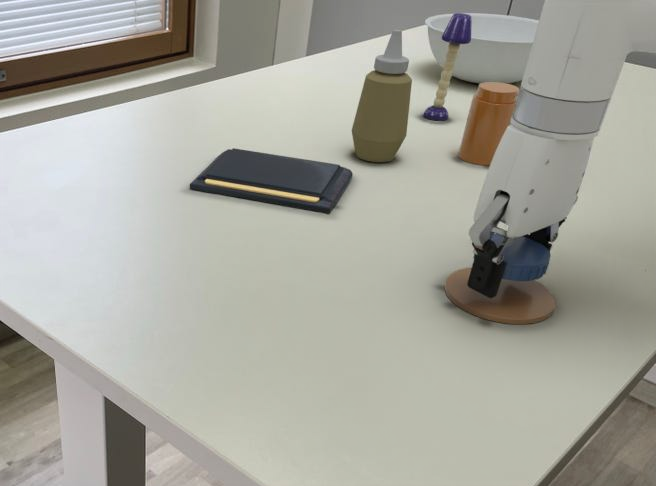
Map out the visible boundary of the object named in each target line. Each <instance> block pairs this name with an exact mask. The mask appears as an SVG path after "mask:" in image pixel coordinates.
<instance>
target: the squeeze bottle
mask: <svg viewBox="0 0 656 486" xmlns="http://www.w3.org/2000/svg"><path fill="white" fill-rule="evenodd" d="M409 63H410V59H409V58H408V57H406V56H404V55H403V31H402V30H401V29H393V30H392V33H391V34H390V38H389V40H388V42H387V45H386V48H385V51H384V53H383V54H379V55H377V56H376V57H375V58H374V66H373V70H371V71H370V72H368V73H367V74H366V75H365V78H364V82H363V86H362V88H361V89H362V90H361V93H360V97H359V101H358V105H357V108H356V112H355V115H354V119H353V123H352V127H351V135H352V143H353V148H354V154H355V156H356V157H357V158H359V159H361V160H364V161H366V162H372V163H386V162H390V161H393V160H394V159H395V157H396V155H397V153H398V152H399V150H400V148H401V146H402V145H403V143H404V141H405V140H406V137H407V133H408V123H409V114H410V113H409V112H410V105H411V104H410V103H411V95H412V85H413V78H412V77H411V76H410V75H409V74H408V73H406V72H408V69H409Z"/></svg>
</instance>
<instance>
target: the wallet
mask: <svg viewBox="0 0 656 486" xmlns="http://www.w3.org/2000/svg"><path fill="white" fill-rule="evenodd" d="M352 178H353V171H352V170H351V169H349V168H347V167H344V166H341V164H338V163H330V162H325V161H324V162H323V161H318V160H311V159H304V158H299V157H291V156H286V155H280V154H272V153H268V152H267V153H266V152H259V151H254V150H246V149H242V148H241V149H240V148H236V147H235V148H234V147H232V148H231V149H230V148H228V149H226V150H224V151H223V152H221V153H220V154H219V155H218V156H217V157H215V158H214V160H212V162H211V163H210V164H209V165H207V167H206V168H205V169H204V170H202V171H201V172H200V174H199V175H197V176H196V177H195V178H194V179H193V181H192V182H191V183H189V189H190V190H194V191H200V192H204V193H210V194H217V195H223V196H229V197H233V198H240V199H245V200H252V201H256V202H263V203H268V204H274V205H279V206H285V207H290V208H297V209H301V210H307V211H314V212H318V213H319V212H320V213H323V214H330V213H331V211H332V210H333V208H335V206H337V204H338V202H339V200H340V199H341V197H342V196H343V194H344V192H345V190H346V189H347V187H348V186H349V184H350V182H351V180H352Z"/></svg>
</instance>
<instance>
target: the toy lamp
mask: <svg viewBox="0 0 656 486" xmlns="http://www.w3.org/2000/svg"><path fill="white" fill-rule="evenodd" d="M461 13H462V12H460V13H459V12H457V13H456V14H454V13H453V14H454V15H453V16H452V18H451V19H450V21H449V23H448V25H447V27H446V29H445V31H444V33H443V35H442V40H443V41H446V42H449V46H448V50H449V51H448V52H447V54H446V61H445V62H444V66H443V68H444V69H443V68H442V71H441V72H440V79H439V82H438V88H437V90H436V93H435V98H434V100H433V105H430V106H428V107H426V109H425V110H424V112H423V117H424V118H426V119H428V120H433V121H447V120H448V119H449V111H448V110H447V108H445V107H444V105H445V102H446V100H445V98H447V95H448V89H449V87H450V84H451V82H450V80H451V79H452V77H453V76H452V70H453V68H454V66H455V60H456V58H457V51H458V49H459V47H460V44H468V43H470V41H471V25H472V18H471V16H470V15H468V14H461Z"/></svg>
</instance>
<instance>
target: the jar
mask: <svg viewBox="0 0 656 486" xmlns="http://www.w3.org/2000/svg"><path fill="white" fill-rule="evenodd" d="M519 90H520V87H518V86H516V85H514V84H512V83H508V84H506V83H500V82H484V83H481V84H480V83H478V87H477V90H476V93H474V94H473V95H472V99H471V103H470V107H469V111H468V115H467V118H466V122H465V127H464V131H463V134H462V138H461V142H460V146H459V151H458V153H457V155H458V158H459V159H460V160H462V161H464V162H466V163H469V164H474V165H478V166H490V164H491V162H492V159H493V157H494V154H495V152H496V149H497V147H498V145H499V143H500V141H501V138H502V136H503V135H504V133H505V131H506V129H507V127H508V126H510V125H512V124H511V118H512V115H513V111H514V108H515V104H516V101H517V97H518V94H519Z"/></svg>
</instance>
